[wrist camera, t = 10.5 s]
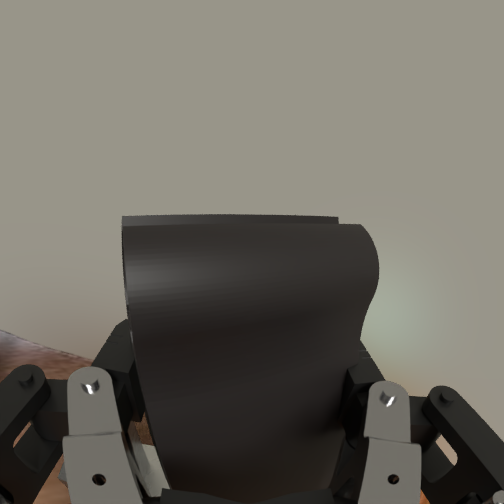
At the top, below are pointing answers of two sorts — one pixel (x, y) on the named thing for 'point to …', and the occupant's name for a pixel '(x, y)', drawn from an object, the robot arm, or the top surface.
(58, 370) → the top surface
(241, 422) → the phone stand
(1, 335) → the top surface
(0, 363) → the top surface
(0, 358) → the top surface
